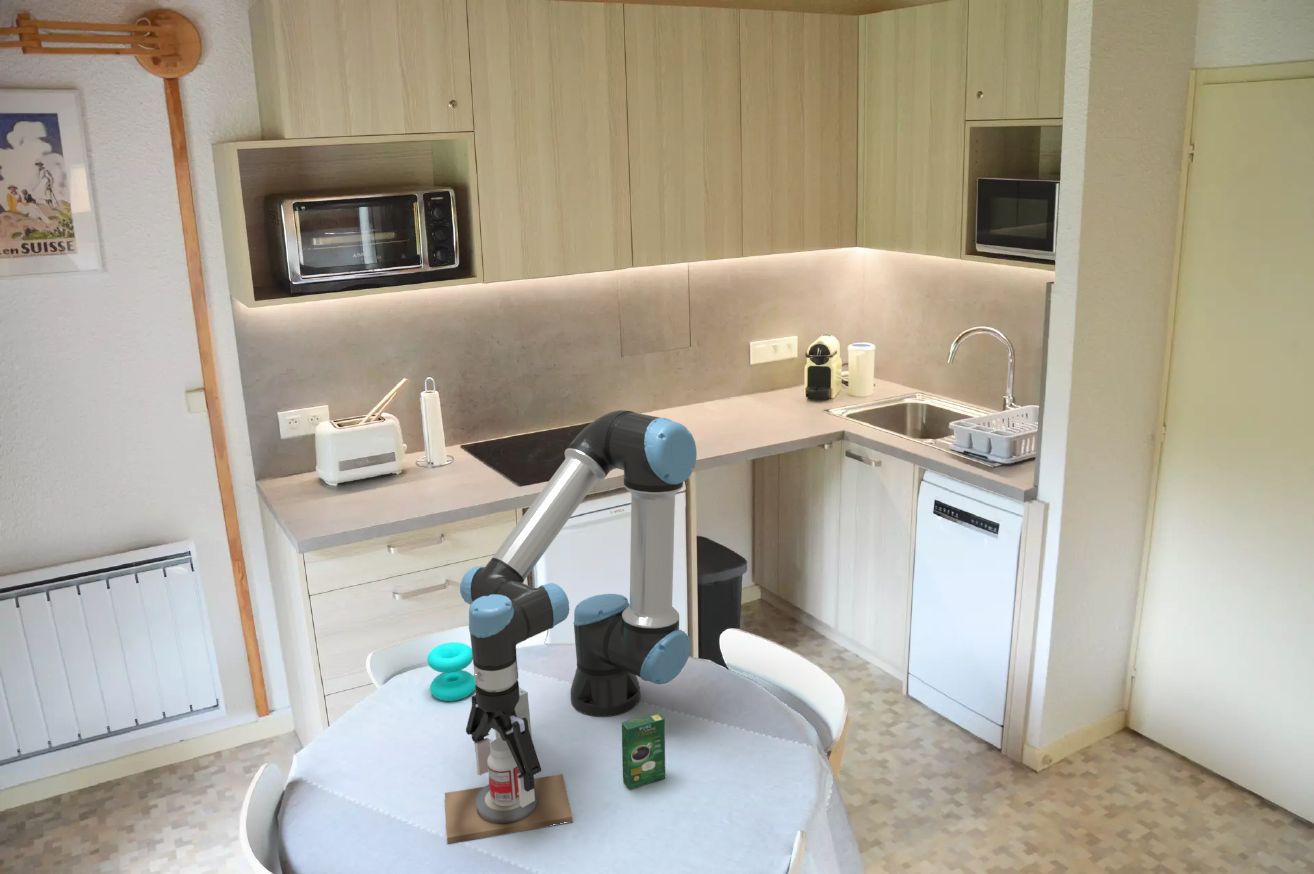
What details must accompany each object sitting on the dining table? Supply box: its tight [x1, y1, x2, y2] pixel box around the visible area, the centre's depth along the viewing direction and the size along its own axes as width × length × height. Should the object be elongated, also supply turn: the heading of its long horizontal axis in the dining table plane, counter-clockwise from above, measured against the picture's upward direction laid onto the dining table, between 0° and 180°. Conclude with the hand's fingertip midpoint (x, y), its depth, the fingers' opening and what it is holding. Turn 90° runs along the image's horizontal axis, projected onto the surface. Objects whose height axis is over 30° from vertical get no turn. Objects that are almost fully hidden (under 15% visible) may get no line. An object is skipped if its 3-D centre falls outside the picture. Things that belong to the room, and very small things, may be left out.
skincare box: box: [494, 687, 533, 740], centre depth 206 cm, size 6×4×12 cm
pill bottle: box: [487, 738, 520, 806], centre depth 186 cm, size 6×6×11 cm
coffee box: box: [621, 712, 666, 790], centre depth 194 cm, size 8×3×13 cm, turn 116°
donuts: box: [426, 642, 476, 702], centre depth 227 cm, size 10×10×10 cm
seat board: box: [444, 773, 574, 844], centre depth 188 cm, size 22×13×3 cm, turn 103°
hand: (505, 787), depth 187 cm, fingers open, 12 cm apart
